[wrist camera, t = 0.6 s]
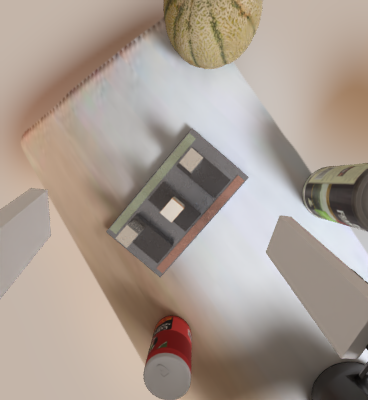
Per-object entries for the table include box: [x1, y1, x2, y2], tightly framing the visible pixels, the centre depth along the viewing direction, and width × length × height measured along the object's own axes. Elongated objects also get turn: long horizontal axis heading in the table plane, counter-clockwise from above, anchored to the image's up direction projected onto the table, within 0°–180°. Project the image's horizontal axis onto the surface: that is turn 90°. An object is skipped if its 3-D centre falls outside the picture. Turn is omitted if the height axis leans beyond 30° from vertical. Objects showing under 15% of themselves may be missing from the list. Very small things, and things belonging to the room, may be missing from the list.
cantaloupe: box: [163, 0, 263, 69], centre depth 34 cm, size 15×15×15 cm
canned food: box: [144, 316, 192, 400], centre depth 41 cm, size 8×8×11 cm
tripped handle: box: [160, 196, 185, 223], centre depth 38 cm, size 2×3×5 cm
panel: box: [106, 129, 249, 277], centre depth 40 cm, size 14×26×9 cm, turn 139°
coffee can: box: [303, 163, 368, 232], centre depth 36 cm, size 10×10×14 cm
